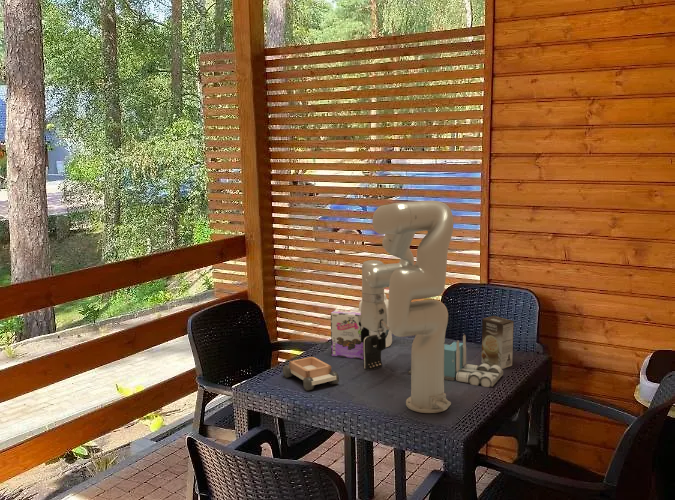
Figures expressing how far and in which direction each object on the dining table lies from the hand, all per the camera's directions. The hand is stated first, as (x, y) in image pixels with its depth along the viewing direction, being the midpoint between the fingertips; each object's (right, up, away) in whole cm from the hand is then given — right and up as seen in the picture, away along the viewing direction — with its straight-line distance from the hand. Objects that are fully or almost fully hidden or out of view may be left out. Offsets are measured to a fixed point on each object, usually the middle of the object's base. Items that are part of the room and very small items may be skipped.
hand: (373, 345), depth 230 cm
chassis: (-21, -10, -10) cm, 25 cm away
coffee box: (+43, -7, +2) cm, 44 cm away
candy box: (-7, -6, +15) cm, 17 cm away
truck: (+27, -9, -8) cm, 29 cm away
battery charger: (0, -8, +1) cm, 8 cm away
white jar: (+2, -4, +27) cm, 28 cm away
